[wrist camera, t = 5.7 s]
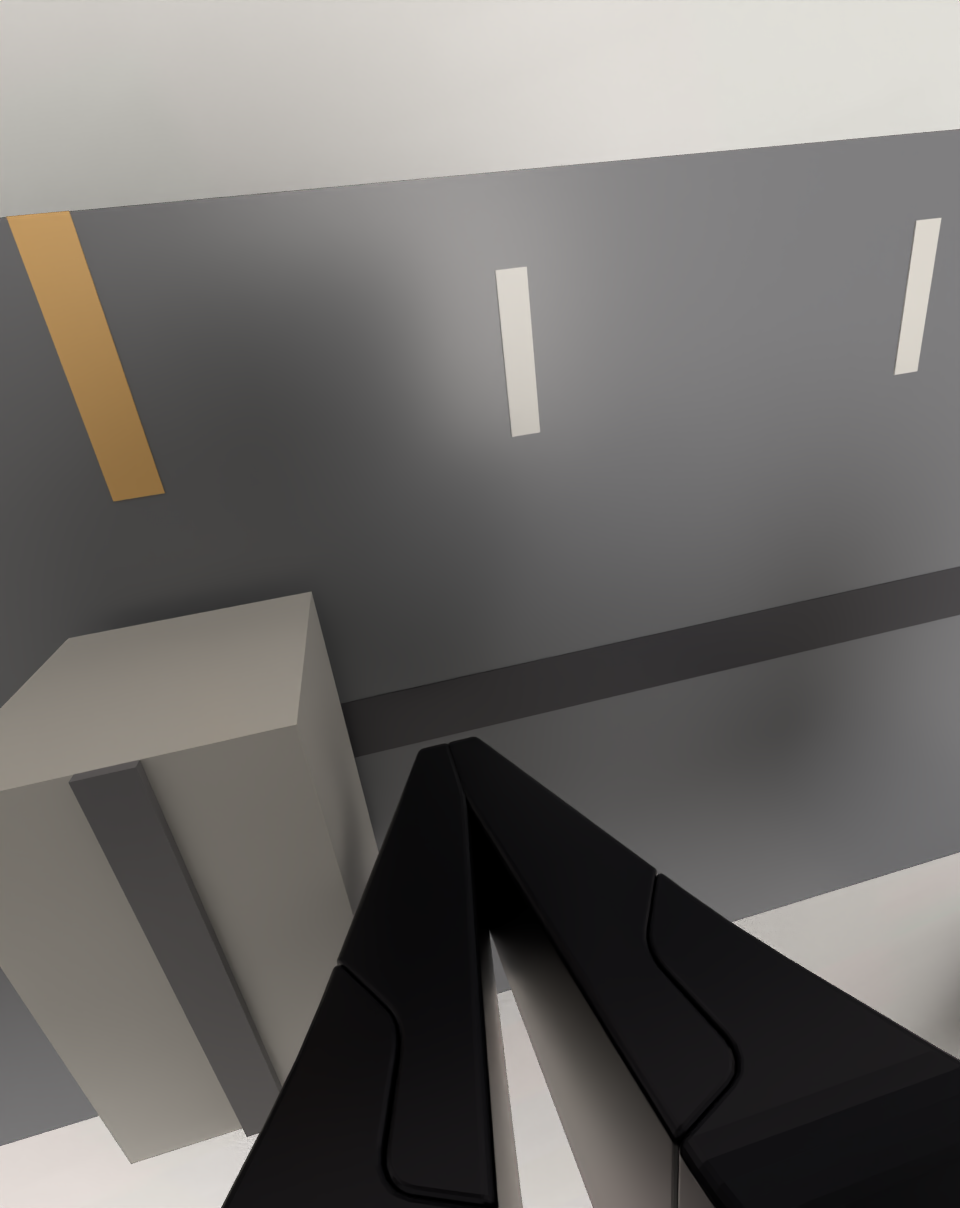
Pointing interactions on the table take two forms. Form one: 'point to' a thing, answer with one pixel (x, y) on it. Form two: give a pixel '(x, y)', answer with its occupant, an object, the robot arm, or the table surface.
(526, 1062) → the table surface
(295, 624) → the fader knob
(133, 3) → the table surface
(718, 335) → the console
